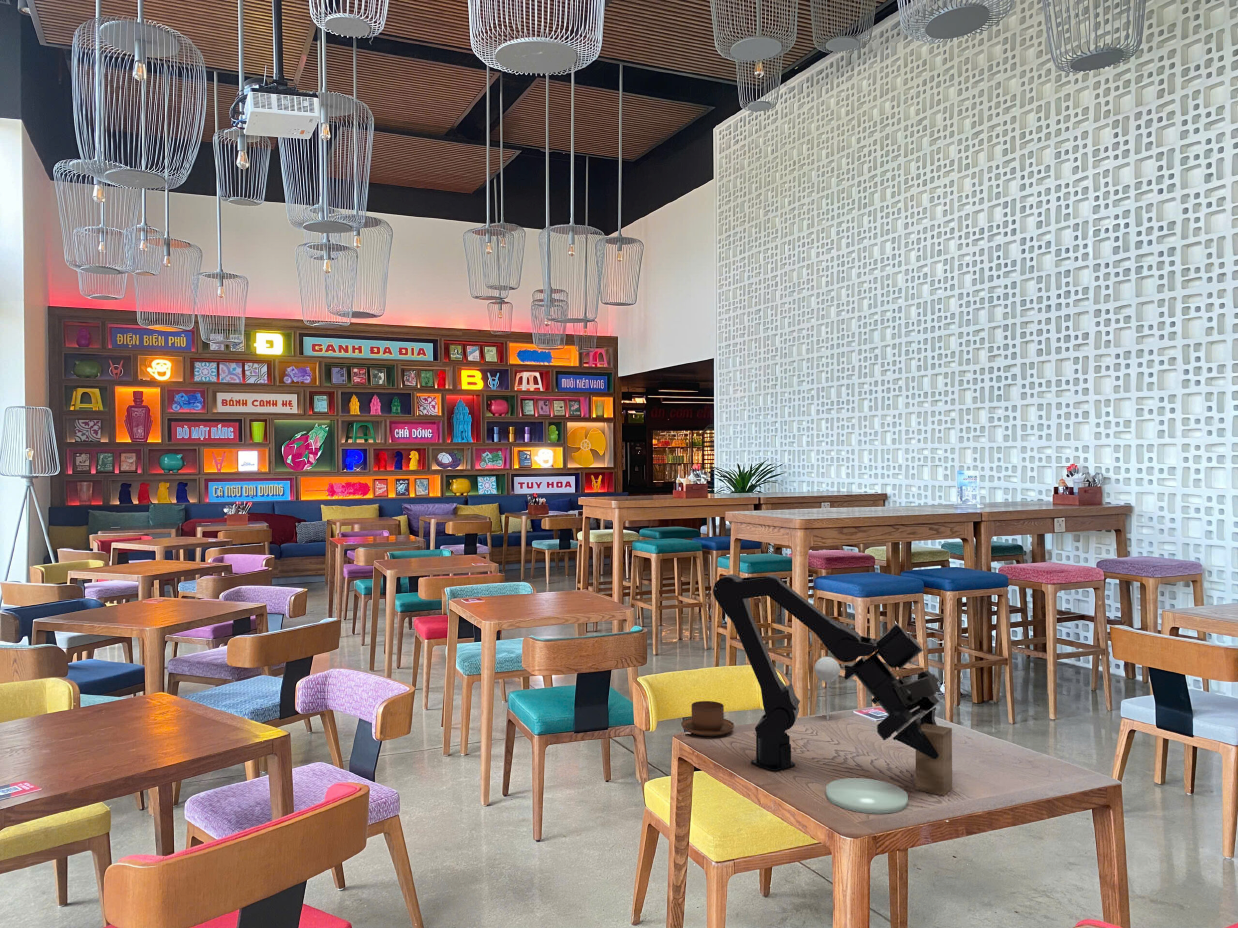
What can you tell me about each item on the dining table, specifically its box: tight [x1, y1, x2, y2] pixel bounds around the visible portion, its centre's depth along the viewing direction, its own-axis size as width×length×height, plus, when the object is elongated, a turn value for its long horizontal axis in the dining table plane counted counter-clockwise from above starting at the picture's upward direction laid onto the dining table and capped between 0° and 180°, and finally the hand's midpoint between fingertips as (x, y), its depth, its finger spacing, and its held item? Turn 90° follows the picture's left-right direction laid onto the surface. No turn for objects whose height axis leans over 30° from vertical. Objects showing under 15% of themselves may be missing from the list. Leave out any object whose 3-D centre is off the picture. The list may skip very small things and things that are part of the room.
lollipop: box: [813, 656, 841, 721], centre depth 199 cm, size 6×6×15 cm
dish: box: [825, 777, 909, 815], centre depth 148 cm, size 14×14×1 cm
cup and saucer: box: [680, 700, 735, 737], centre depth 189 cm, size 12×12×6 cm
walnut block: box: [915, 723, 953, 797], centre depth 152 cm, size 5×5×11 cm
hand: (941, 753), depth 152 cm, fingers closed on walnut block, 5 cm apart
